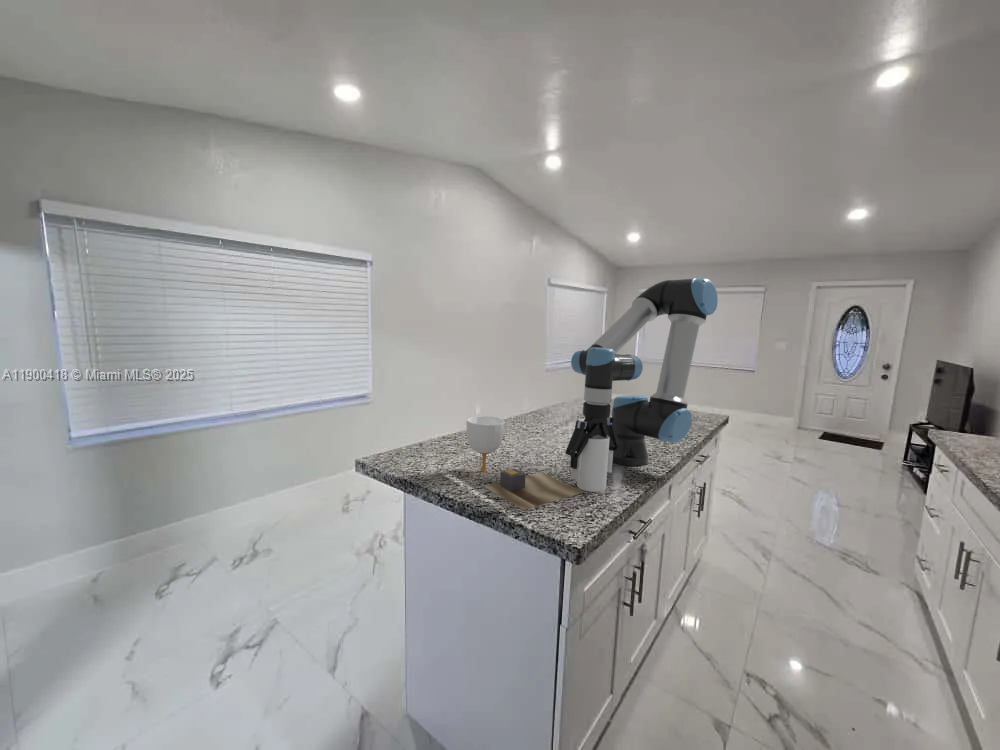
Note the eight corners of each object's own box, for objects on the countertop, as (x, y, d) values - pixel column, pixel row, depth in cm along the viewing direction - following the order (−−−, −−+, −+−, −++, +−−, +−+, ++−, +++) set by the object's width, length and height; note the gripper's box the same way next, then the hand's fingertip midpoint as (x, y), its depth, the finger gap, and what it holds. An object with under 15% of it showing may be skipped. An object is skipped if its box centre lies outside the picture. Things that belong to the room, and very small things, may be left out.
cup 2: (611, 493, 120) (615, 438, 118) (586, 496, 117) (590, 440, 115) (594, 482, 128) (598, 431, 126) (571, 485, 125) (574, 432, 123)
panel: (541, 475, 132) (541, 472, 132) (584, 495, 118) (584, 491, 118) (482, 489, 119) (483, 485, 119) (523, 513, 105) (523, 509, 105)
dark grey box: (514, 481, 123) (514, 467, 122) (524, 487, 119) (525, 472, 118) (500, 485, 120) (500, 470, 120) (510, 491, 116) (511, 475, 116)
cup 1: (475, 483, 123) (477, 426, 121) (458, 470, 133) (460, 417, 131) (509, 477, 129) (512, 423, 127) (490, 465, 139) (492, 415, 137)
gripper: (614, 397, 130) (609, 464, 132) (555, 403, 115) (550, 478, 117) (635, 401, 124) (629, 471, 126) (575, 408, 109) (570, 487, 111)
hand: (591, 475), depth 122 cm, fingers open, 13 cm apart
